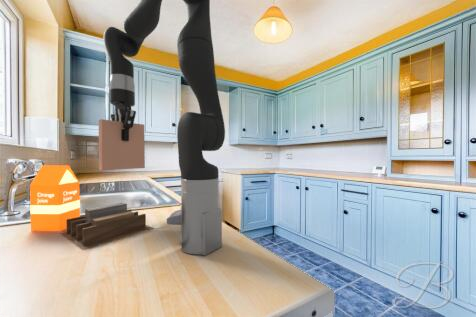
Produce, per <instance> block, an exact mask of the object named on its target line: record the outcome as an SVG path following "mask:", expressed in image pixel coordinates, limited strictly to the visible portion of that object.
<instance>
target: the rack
mask: <svg viewBox="0 0 476 317" xmlns="http://www.w3.org/2000/svg"><path fill="white" fill-rule="evenodd" d="M127 211H131V212H132V209H127ZM133 212H134V216H133V217H129V218H125V219H120V220H116V221H112V222H108V223H104V224H100V225H95V226H91V222H88V223H85V215H80V217H76V218H71V219H66V227H67V228H66V231H63V232H60V233H59V234H60V235H62V236H64V238H66V239H67V240H68V241H70V243H72V244H74V245H75V246H76V247H78V248H79V249H80V250H82V251H85V250H88V249H92V248H95V247H99V246H102V245H106V244H108V243H112V242H114V241H118V240H120V239H121V240H122V239H124V238H127V237H131V236H134V235H137V234H140V233H144V232H146V231H150V230H153V229H155V227H153V226H149V225H147V224H146V223H147V220H146V218H147V217H146V213H142V214H139V211H133Z"/></svg>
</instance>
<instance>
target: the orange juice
mask: <svg viewBox="0 0 476 317" xmlns="http://www.w3.org/2000/svg"><path fill="white" fill-rule="evenodd" d="M80 192H81V191H80V181H79V180H78V178H77V177H76V175H75V174H74V172H73V170H72V169H71V167H70V165H68V164H67V165H42V166H41V167H40V168H39V170H38V171H37V173H36V175H35V176H34V178H33V180H32V181H31V183H30V184H29V196H30V197H29V199H30V200H29V201H30V206H29V207H30V208H29V209H30V210H29V211H30V212H29V215H30V232H60V231H64V230H67V227H66V219H71V218H76V217H81V214H80V213H81V198H80Z"/></svg>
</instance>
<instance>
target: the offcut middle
mask: <svg viewBox="0 0 476 317" xmlns="http://www.w3.org/2000/svg"><path fill="white" fill-rule="evenodd" d="M127 210H128V204H127V203H126V202H118V203H111V204H108V205H107V204H106V205H100V206H97V207H89V208H84V216H85V223H88V222H91V219H94V218H98V217H103V216H108V215H112V214H117V213H122V212H126V211H127Z"/></svg>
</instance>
